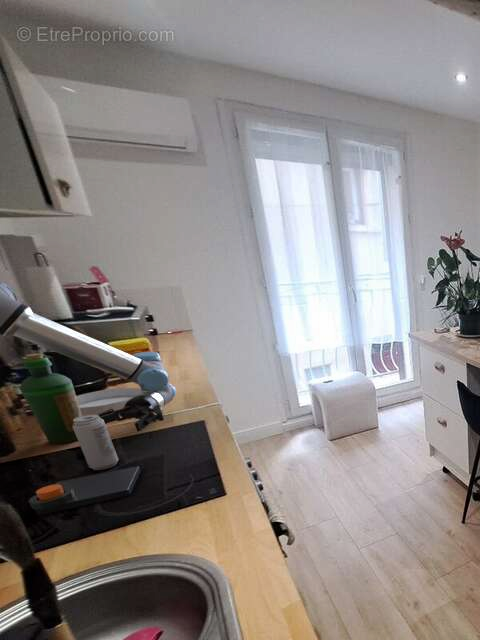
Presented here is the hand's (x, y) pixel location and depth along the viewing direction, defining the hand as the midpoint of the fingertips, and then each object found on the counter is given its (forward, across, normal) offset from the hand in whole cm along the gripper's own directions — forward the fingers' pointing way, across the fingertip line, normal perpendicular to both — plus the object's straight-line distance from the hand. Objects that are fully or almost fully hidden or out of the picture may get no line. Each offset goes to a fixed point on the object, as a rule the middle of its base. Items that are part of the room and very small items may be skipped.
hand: (108, 430), depth 120 cm
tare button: (+27, 0, +5) cm, 28 cm away
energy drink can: (+6, 0, +9) cm, 11 cm away
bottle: (-18, -20, +9) cm, 29 cm away
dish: (-46, -23, +9) cm, 52 cm away
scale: (+22, +5, +8) cm, 24 cm away
